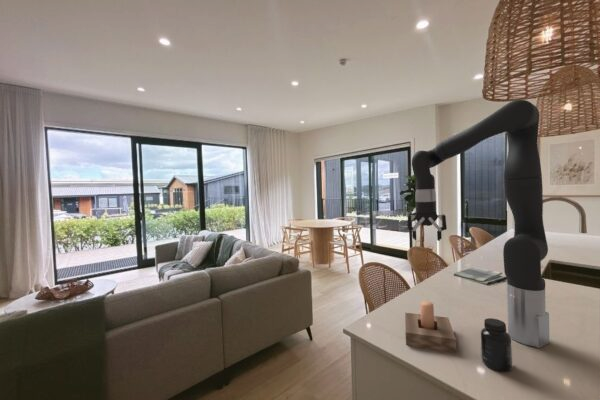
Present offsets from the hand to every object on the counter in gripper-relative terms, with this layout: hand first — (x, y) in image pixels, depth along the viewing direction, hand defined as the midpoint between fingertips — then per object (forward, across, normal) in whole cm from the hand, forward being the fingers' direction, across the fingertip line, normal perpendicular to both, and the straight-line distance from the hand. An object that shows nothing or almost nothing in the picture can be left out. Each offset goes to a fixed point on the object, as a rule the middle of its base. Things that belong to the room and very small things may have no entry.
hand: (426, 240), depth 108 cm
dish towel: (+29, +28, +45) cm, 61 cm away
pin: (+27, -2, -23) cm, 35 cm away
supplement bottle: (+28, +14, -32) cm, 45 cm away
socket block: (+28, -2, -23) cm, 36 cm away
